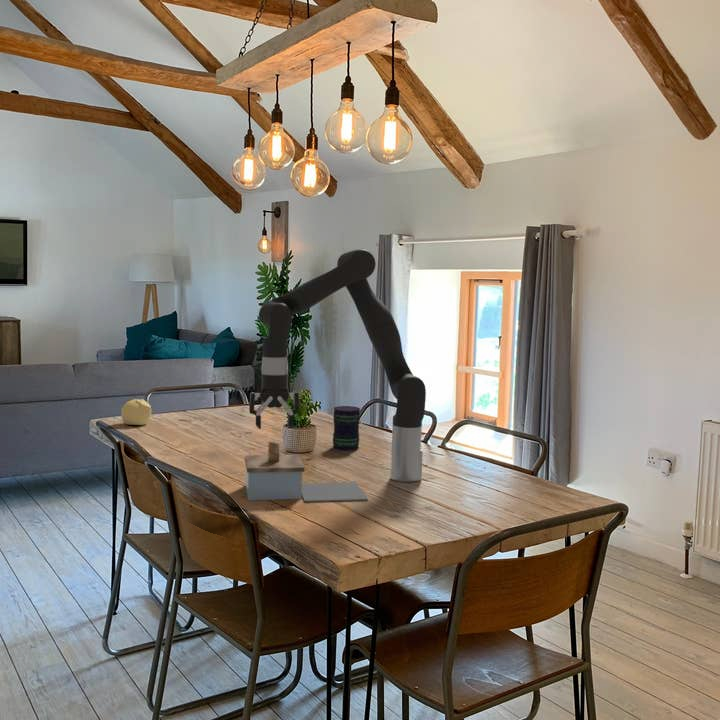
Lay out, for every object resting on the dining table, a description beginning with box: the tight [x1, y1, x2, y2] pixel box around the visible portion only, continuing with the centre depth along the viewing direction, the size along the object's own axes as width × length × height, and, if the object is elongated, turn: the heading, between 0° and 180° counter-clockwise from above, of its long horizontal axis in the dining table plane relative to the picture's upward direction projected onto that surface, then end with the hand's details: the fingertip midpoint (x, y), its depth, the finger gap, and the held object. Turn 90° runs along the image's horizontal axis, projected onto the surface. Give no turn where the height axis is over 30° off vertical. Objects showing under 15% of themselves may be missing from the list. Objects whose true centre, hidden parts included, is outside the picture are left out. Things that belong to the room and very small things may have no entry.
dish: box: [244, 468, 303, 501], centre depth 224 cm, size 15×15×8 cm
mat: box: [301, 481, 369, 503], centre depth 226 cm, size 18×18×1 cm
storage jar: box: [332, 405, 361, 452], centre depth 286 cm, size 10×10×15 cm
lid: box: [244, 440, 306, 473], centre depth 223 cm, size 16×16×7 cm
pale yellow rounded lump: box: [120, 398, 153, 426], centre depth 317 cm, size 12×12×11 cm
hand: (274, 427), depth 222 cm, fingers open, 8 cm apart
